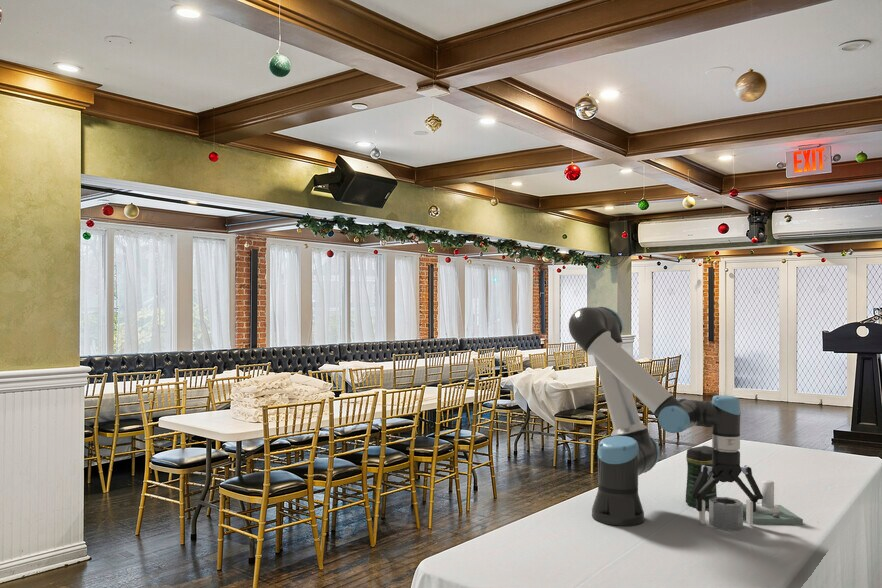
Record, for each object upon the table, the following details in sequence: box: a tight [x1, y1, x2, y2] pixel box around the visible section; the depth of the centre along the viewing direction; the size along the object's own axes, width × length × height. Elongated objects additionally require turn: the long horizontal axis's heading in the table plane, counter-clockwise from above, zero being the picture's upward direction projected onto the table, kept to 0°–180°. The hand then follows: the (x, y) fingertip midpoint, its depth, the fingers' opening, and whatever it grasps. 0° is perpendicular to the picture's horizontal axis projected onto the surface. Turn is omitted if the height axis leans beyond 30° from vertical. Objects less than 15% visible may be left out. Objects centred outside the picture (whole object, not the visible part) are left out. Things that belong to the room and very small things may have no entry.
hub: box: [708, 496, 744, 531], centre depth 197 cm, size 8×8×7 cm
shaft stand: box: [743, 479, 804, 525], centre depth 206 cm, size 14×14×10 cm
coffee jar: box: [685, 445, 718, 509], centre depth 217 cm, size 10×8×19 cm
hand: (725, 522), depth 197 cm, fingers open, 13 cm apart
